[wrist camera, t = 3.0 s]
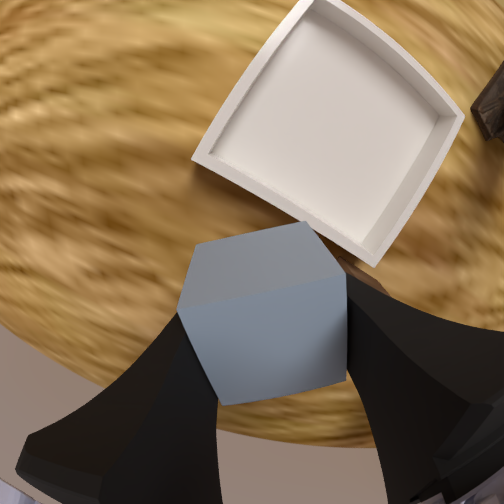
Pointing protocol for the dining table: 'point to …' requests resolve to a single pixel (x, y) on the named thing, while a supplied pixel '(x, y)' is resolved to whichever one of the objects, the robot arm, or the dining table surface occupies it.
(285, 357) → the gray block
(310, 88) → the dish
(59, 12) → the dining table surface
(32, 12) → the dining table surface
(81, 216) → the dining table surface
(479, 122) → the sculpture
